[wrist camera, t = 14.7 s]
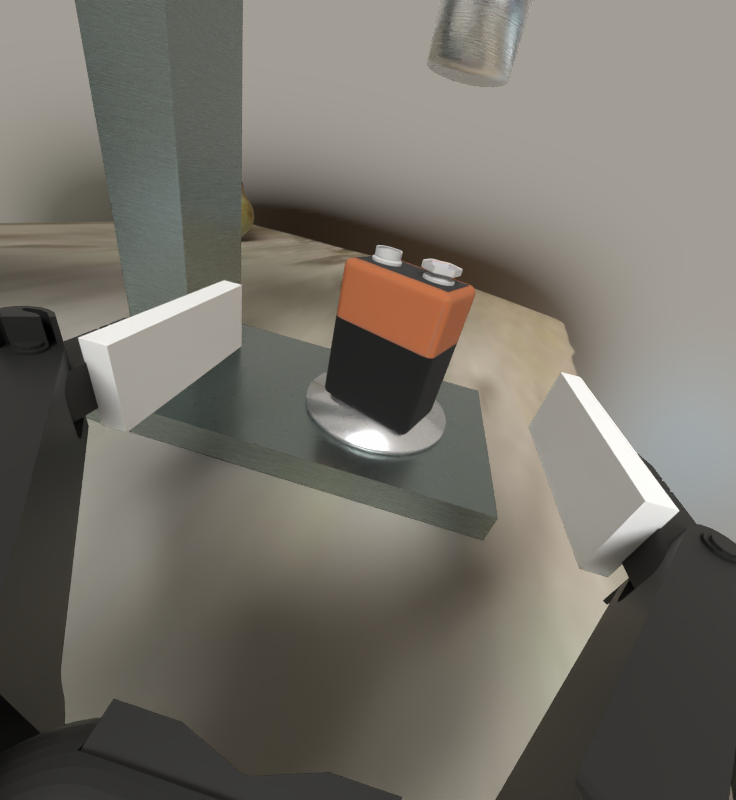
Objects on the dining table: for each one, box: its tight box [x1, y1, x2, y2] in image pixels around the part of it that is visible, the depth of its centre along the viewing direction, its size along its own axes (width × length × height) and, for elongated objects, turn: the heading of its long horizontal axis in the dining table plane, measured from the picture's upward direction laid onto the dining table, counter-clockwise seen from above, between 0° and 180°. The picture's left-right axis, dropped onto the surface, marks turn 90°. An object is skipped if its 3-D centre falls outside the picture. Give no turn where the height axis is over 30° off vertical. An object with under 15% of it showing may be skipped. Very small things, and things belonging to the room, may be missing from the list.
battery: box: [325, 245, 475, 434], centre depth 22 cm, size 4×7×10 cm, turn 55°
